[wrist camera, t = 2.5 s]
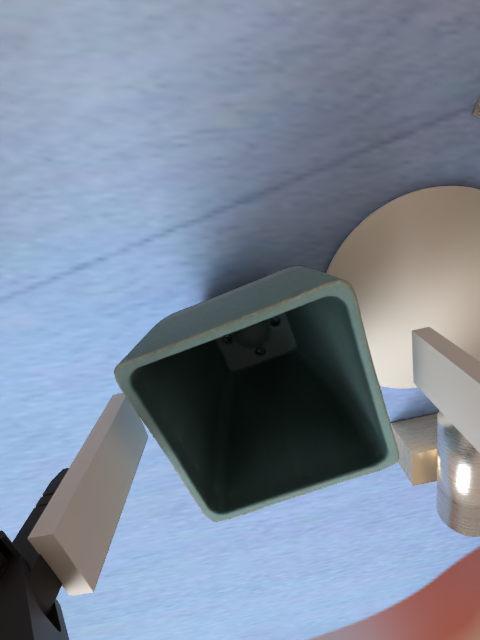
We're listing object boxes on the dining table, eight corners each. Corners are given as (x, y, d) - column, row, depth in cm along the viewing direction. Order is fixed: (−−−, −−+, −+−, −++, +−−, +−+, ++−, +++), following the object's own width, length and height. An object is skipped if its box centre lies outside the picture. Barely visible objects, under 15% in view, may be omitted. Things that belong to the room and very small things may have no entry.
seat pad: (276, 295, 19) (277, 298, 19) (466, 129, 16) (471, 127, 16) (391, 416, 23) (393, 419, 23) (561, 300, 20) (568, 302, 20)
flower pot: (296, 234, 18) (352, 274, 10) (336, 358, 21) (404, 466, 13) (158, 291, 19) (105, 370, 11) (216, 401, 22) (210, 526, 14)
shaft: (387, 385, 22) (440, 449, 17) (459, 369, 22) (537, 430, 16) (393, 466, 25) (438, 543, 20) (456, 453, 25) (520, 528, 20)
